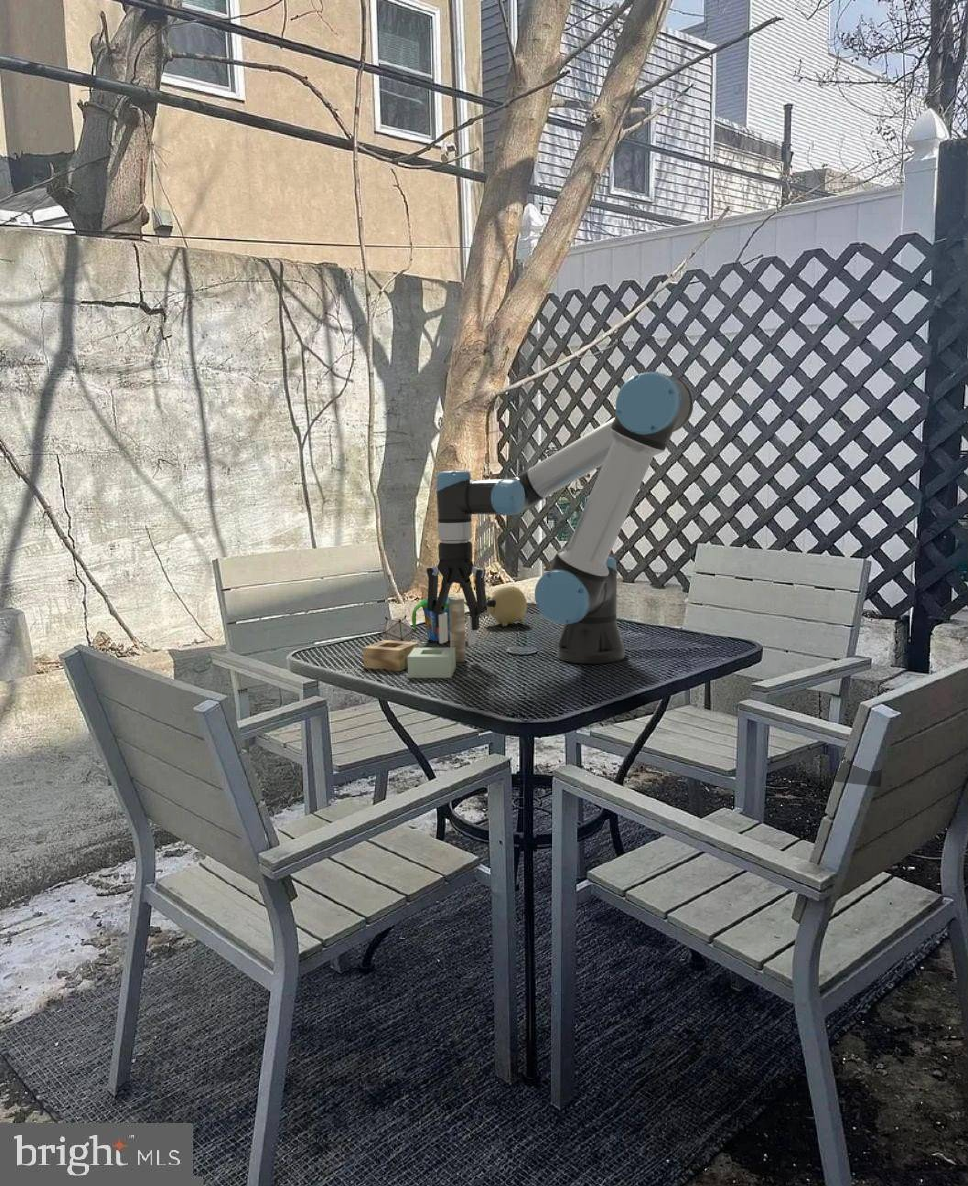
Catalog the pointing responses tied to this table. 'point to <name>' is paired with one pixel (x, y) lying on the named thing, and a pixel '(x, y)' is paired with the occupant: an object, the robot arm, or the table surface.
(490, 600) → the beige fuzzy round body
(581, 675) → the table surface
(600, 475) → the robot arm
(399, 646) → the wooden square ring
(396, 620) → the game die
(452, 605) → the dowel
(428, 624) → the snack cup
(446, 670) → the sage bead
